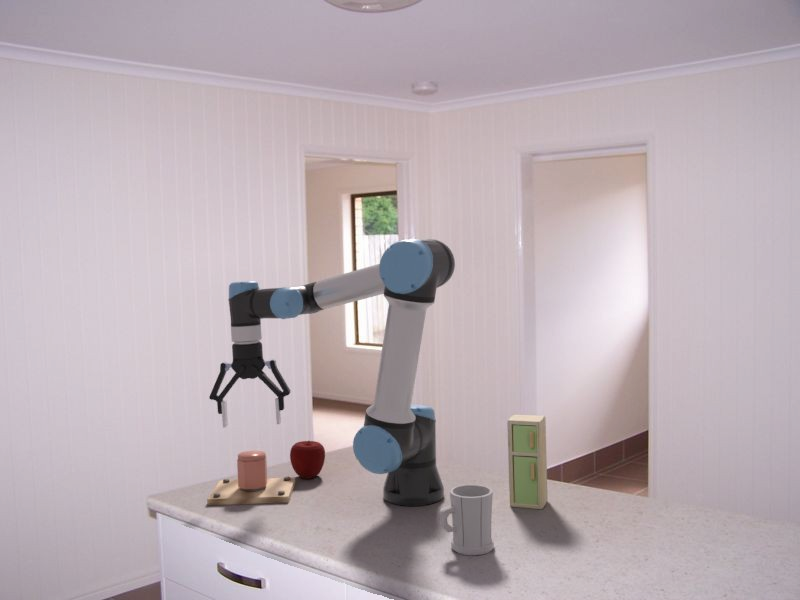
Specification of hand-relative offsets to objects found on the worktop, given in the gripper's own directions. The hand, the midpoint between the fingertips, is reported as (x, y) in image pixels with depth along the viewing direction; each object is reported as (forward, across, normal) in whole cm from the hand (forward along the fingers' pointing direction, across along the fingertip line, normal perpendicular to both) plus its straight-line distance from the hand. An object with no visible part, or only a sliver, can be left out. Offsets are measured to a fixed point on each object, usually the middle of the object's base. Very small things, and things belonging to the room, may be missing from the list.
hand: (252, 424), depth 199 cm
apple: (+18, -12, -14) cm, 26 cm away
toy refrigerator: (+20, -67, +16) cm, 72 cm away
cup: (+20, -50, +42) cm, 68 cm away
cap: (+16, +1, 0) cm, 16 cm away
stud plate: (+18, +1, 0) cm, 18 cm away
